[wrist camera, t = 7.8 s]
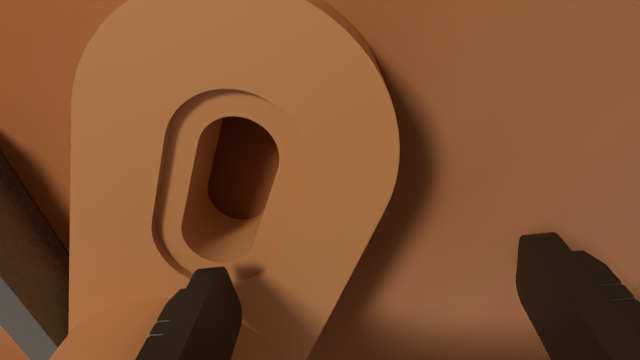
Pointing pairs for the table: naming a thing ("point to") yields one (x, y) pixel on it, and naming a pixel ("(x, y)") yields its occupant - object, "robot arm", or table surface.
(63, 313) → the guide rails
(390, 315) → the table surface
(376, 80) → the bracket
